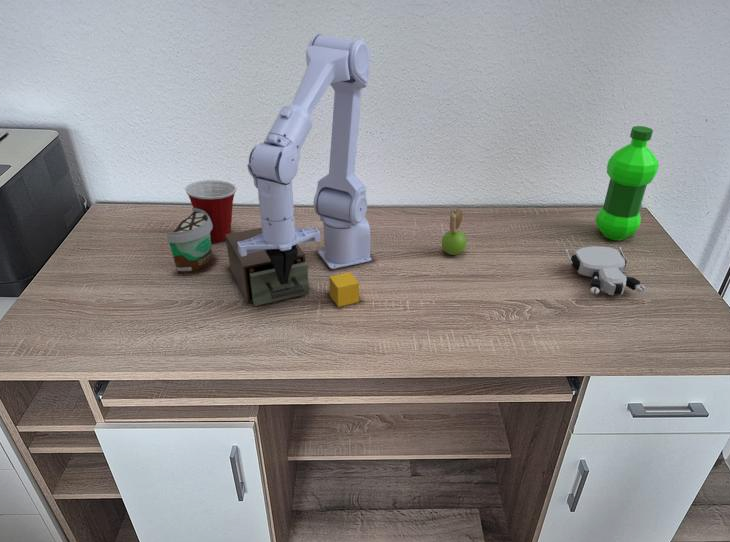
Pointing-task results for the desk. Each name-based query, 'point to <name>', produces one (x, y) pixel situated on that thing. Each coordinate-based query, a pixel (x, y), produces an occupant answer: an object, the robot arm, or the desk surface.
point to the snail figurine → (454, 235)
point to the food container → (192, 243)
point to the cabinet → (248, 258)
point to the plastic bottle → (627, 186)
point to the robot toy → (604, 269)
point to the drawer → (277, 283)
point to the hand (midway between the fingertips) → (282, 281)
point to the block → (344, 289)
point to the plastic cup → (214, 204)
